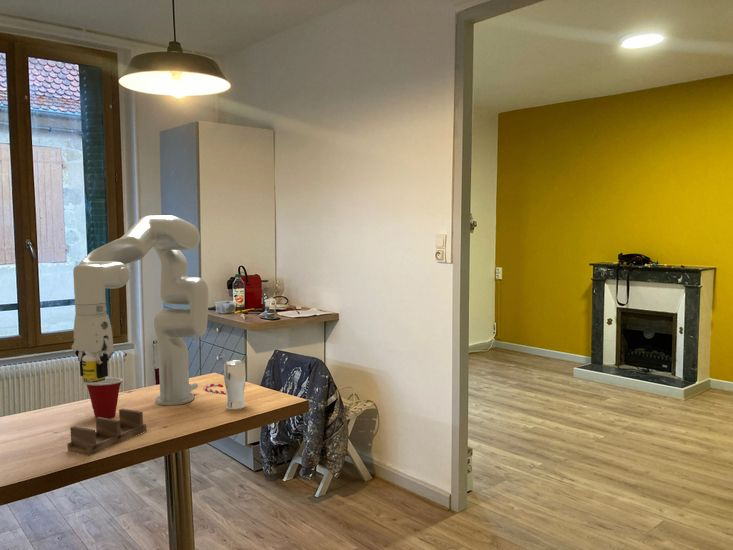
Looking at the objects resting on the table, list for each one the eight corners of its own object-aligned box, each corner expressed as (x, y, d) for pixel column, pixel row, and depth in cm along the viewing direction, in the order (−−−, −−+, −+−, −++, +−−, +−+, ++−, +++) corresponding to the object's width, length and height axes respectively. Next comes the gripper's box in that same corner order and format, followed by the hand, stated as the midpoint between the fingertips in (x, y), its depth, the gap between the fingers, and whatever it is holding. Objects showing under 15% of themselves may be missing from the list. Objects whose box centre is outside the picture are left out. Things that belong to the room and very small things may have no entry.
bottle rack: (126, 427, 177) (125, 407, 176) (146, 431, 173) (145, 410, 173) (67, 451, 158) (66, 428, 158) (89, 456, 155) (87, 433, 155)
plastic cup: (131, 412, 191) (129, 375, 190) (111, 423, 181) (109, 384, 180) (100, 410, 193) (99, 374, 192) (79, 421, 183) (77, 383, 182)
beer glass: (239, 411, 191) (238, 365, 190) (220, 409, 193) (219, 364, 192) (250, 405, 197) (249, 360, 196) (232, 403, 200) (230, 359, 198)
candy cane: (222, 394, 208) (198, 386, 218) (222, 397, 208) (198, 390, 218) (240, 389, 213) (216, 382, 223) (240, 393, 213) (216, 385, 223)
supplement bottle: (78, 384, 159) (76, 348, 159) (94, 379, 164) (93, 344, 164) (94, 386, 157) (92, 349, 157) (109, 381, 162) (108, 345, 162)
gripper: (125, 309, 159) (128, 376, 161) (80, 306, 166) (83, 370, 168) (102, 313, 152) (105, 382, 154) (56, 310, 159) (59, 376, 161)
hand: (94, 375), depth 161 cm, fingers closed on supplement bottle, 5 cm apart
